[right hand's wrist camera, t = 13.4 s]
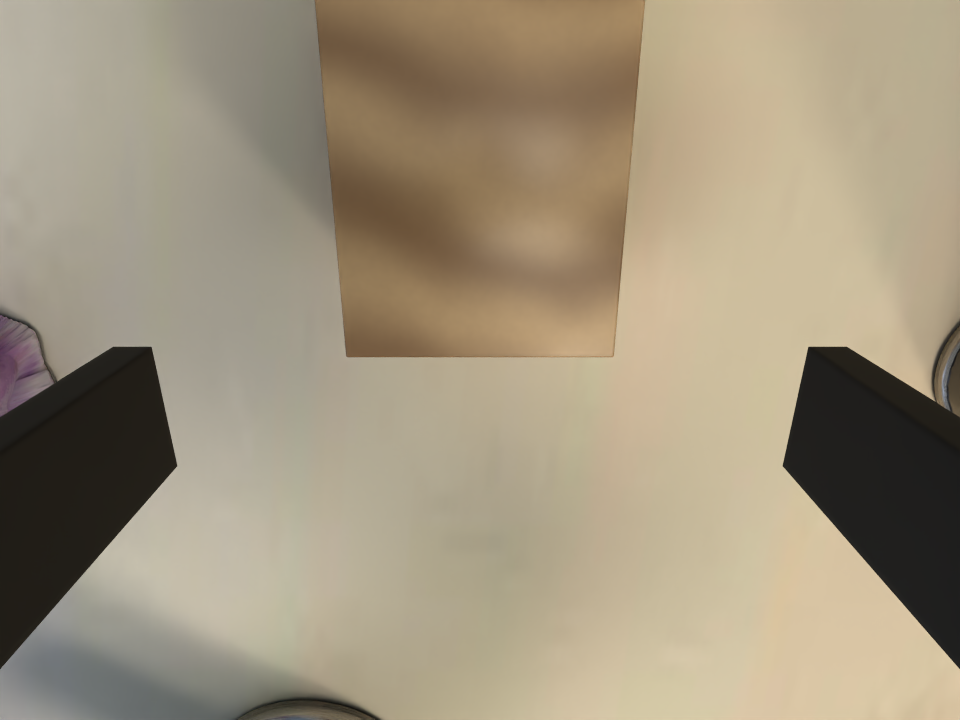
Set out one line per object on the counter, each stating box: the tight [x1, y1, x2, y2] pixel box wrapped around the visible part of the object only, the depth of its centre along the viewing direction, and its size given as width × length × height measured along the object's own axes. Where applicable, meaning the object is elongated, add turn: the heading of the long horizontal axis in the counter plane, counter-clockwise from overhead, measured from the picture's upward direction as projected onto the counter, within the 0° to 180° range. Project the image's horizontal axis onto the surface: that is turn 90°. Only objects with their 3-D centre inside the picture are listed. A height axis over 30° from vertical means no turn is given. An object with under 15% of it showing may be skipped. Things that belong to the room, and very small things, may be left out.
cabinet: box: [315, 0, 645, 357], centre depth 25 cm, size 20×11×10 cm, turn 0°
